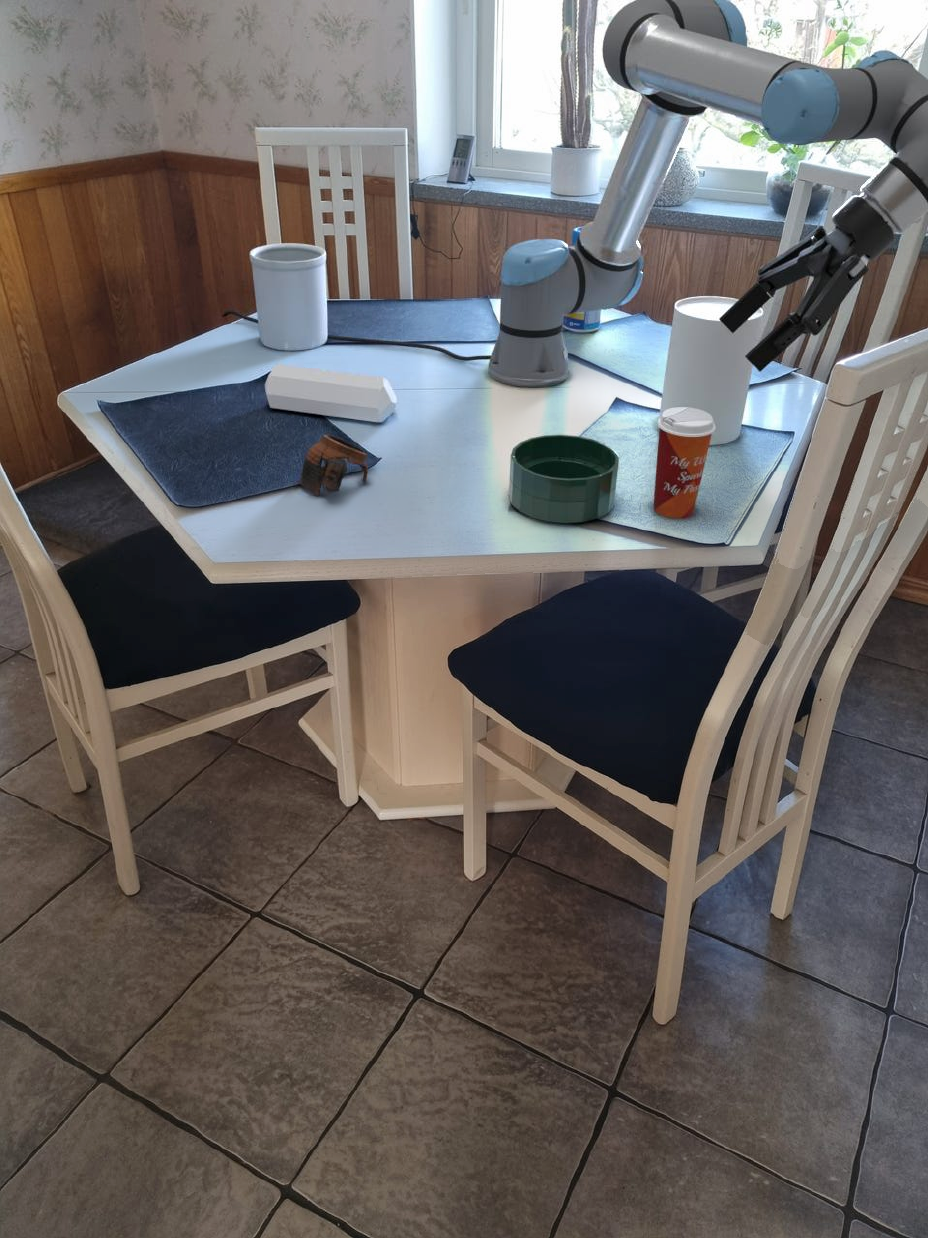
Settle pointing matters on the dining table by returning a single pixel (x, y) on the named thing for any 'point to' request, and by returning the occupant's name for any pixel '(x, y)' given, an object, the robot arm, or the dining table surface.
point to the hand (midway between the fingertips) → (738, 344)
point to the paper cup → (681, 459)
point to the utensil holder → (290, 295)
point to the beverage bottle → (581, 320)
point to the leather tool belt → (330, 464)
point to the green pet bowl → (563, 478)
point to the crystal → (330, 393)
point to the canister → (710, 363)
